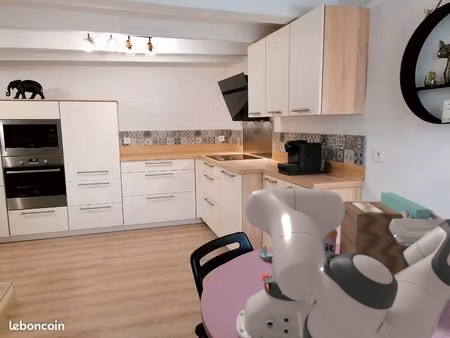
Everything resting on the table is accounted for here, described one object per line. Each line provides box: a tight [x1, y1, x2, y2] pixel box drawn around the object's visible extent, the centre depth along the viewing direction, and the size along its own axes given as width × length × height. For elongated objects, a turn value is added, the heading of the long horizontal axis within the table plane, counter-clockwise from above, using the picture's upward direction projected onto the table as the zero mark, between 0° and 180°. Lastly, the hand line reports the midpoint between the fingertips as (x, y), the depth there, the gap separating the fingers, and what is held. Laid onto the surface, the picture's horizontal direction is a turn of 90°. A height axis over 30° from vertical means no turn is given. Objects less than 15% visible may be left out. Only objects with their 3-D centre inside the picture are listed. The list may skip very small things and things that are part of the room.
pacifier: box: [258, 243, 272, 261], centre depth 143 cm, size 7×6×6 cm
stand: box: [339, 201, 409, 275], centre depth 124 cm, size 22×18×26 cm
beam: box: [380, 192, 431, 219], centre depth 116 cm, size 4×26×4 cm, turn 177°
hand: (416, 211), depth 107 cm, fingers open, 6 cm apart
